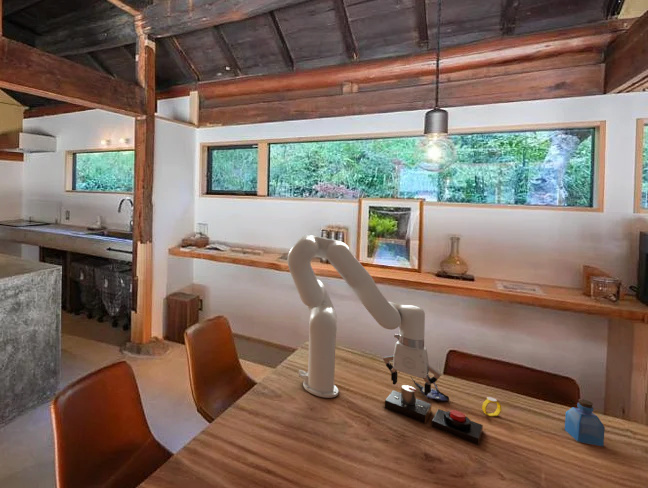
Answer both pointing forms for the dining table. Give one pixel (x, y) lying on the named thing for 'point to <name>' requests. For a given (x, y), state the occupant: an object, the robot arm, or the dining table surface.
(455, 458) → the dining table surface
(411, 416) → the control panel
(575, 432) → the perfume bottle
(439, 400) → the snack package
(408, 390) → the heat knob
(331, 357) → the robot arm
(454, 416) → the button
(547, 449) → the dining table surface
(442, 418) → the button block
